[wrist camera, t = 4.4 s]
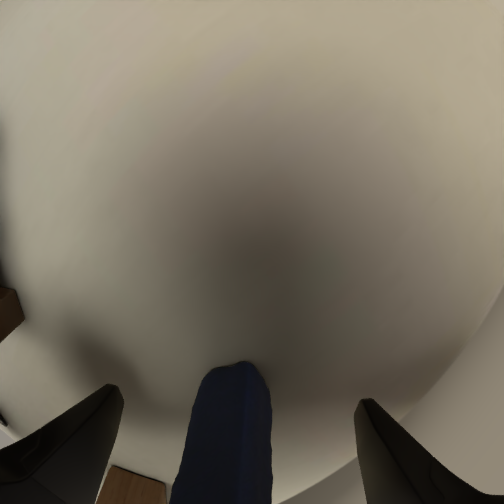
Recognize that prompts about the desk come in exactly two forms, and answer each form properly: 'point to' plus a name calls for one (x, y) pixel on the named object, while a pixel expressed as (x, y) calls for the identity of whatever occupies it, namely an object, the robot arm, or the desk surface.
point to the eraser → (228, 441)
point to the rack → (9, 312)
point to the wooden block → (130, 489)
